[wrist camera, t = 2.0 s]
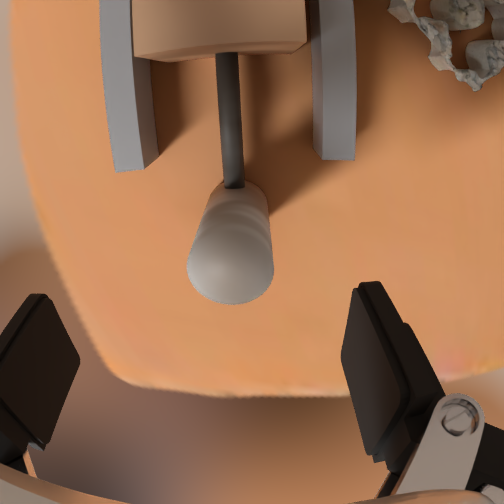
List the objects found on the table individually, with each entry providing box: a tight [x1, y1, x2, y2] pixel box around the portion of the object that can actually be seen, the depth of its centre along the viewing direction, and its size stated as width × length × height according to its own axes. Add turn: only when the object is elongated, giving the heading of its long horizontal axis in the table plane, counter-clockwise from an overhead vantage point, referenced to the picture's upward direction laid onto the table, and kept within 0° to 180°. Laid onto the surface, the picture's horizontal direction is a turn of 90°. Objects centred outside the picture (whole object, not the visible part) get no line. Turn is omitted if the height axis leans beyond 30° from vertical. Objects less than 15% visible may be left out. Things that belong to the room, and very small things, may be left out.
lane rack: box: [100, 0, 357, 173], centre depth 11 cm, size 11×14×2 cm
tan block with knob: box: [132, 0, 307, 305], centre depth 11 cm, size 6×16×6 cm, turn 3°
